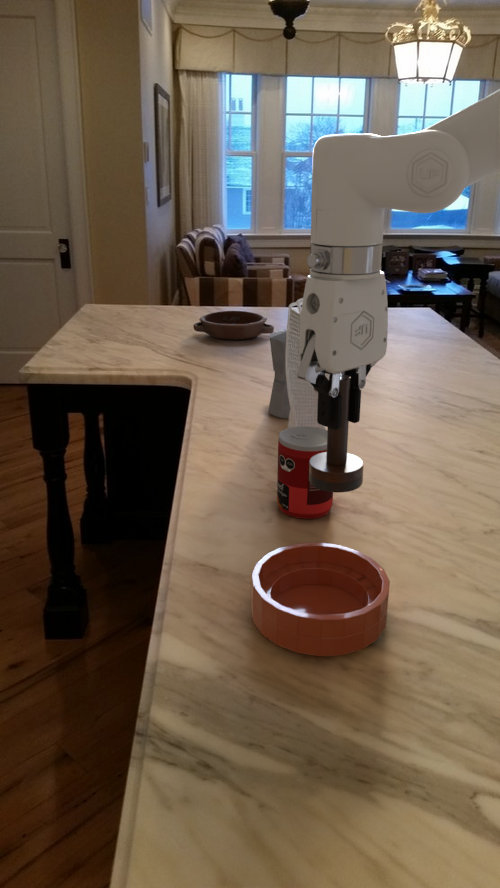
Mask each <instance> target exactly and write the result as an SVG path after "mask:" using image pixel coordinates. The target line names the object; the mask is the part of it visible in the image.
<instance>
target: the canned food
mask: <svg viewBox="0 0 500 888" xmlns="http://www.w3.org/2000/svg"><path fill="white" fill-rule="evenodd" d="M287 428H288V427H287ZM287 428H286V429H283V430H281V431H280V432H279V434H278V441H277V475H276V476H277V477H276V479H277V480H276V482H277V483H276V502H277V507H278V509H279V510H280V511H281V512H282V513H283V514H285V515H286V516H289V517H292V518H295V519H302V520H313V519H318V518H322V517H324V516H326V515H328V514H329V513H330V511H331V509H332V507H333V503H334V502H333V499H334V492H328V491H323V490H320V489H317V488H315V487H314V486H312V485H311V484H310V482H309V461H310V459H311V457H313V456H314V455H316V454H319V453H323V452H327V430H328V429H326V430H324V429H321V428H317V427H308V426H301V427H292V428H288V429H287Z"/></svg>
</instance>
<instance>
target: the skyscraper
mask: <svg viewBox="0 0 500 888" xmlns="http://www.w3.org/2000/svg"><path fill="white" fill-rule="evenodd" d="M302 303H303V297H301V298H298V299H297V300H296V301H295V302H294V301H293V302H291V303H290V304H289V305H288V311H287V324H286V329H287V334H286V354H285V365H286V381H287V390H288V398H289V403H290V414H289V419H288V420H287V421H288V422H287V427H286V429H288V428H292V427H301V426H308V427H317V428H321V429H324V430H327V428H326V426H323V425H320V424H319V423H318V422H317V411H318V392H316V391H314V387H313V386H312V385H311V384H310V382H307V381H304V380H301V379H299V378H298V377H297V373H298V370H299V367H300V364H301V361H300V354H299V334H300V320H301V310H302ZM294 306H297V307H294ZM289 344H290V345H289ZM325 376H326V378H327V379H328V380H329V374H327V373H325Z"/></svg>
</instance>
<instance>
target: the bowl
mask: <svg viewBox="0 0 500 888" xmlns="http://www.w3.org/2000/svg"><path fill="white" fill-rule="evenodd" d="M250 577H251V578H250V611H251V618H252V622H253V623H254V625H255V626H256V628H257V629H258V631H259V632H260V633H261V635H263V636H264V637H265V638H267V639H268V640H269V641H271V642H273V643H274V644H275V645H277V646H279V647H282V648H285V649H288V650H290V651H292V652H295V653H297V654H302V655H303V654H305V655H309V656H315V657H316V656H317V657H330V656H331V657H333V656H343V655H347V654H351V653H355V652H357V651H362V650H364V649H365V648H366V647H368V646H370V645H372V644H373V643H375V642H376V641H377V640H378V639H379V638H380V636H381V635H382V633H383V632H384V631H385V629H386V626H387V625H386V624H387V616H388V615H387V614H388V606H389V597H390V584H391V581H390V578H389V577H388V574H387V573H386V571H385V569H384V567H382V566H381V565H380V564H379V563H378V562H377V561H376V560H375V559H374V558H373V557H370V556H369V555H366V554H365V553H363V552H361V551H359V550H357V549H354V548H350V547H347V546H345V545H344V546H343V545H340V544H335V543H328V542H327V543H326V542H319V541H317V542H298V543H294V544H289V545H284V546H281V547H278V548H276V549H274V550H272V551H270V552H268V553H266V554H264V555H263V556H262V557H261V558H260V559H259V560H258V561H257V562H256V563H255V565H254V567H253V570H252V572H251V575H250Z"/></svg>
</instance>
